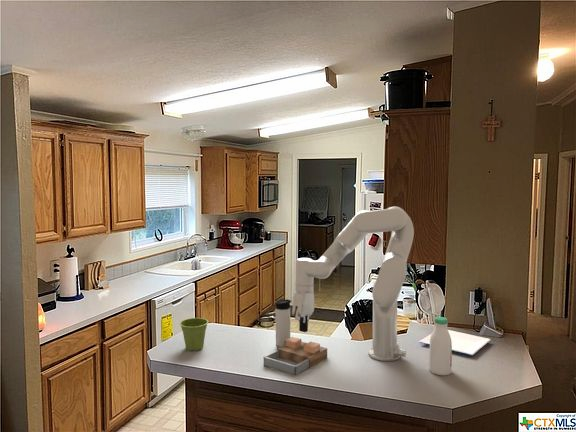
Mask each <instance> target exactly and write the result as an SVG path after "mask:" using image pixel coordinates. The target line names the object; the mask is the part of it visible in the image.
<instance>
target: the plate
mask: <svg viewBox="0 0 576 432" xmlns="http://www.w3.org/2000/svg"><path fill="white" fill-rule="evenodd" d="M448 332H449V334H450V337H451V341H452V352H456V353H461V354H465V355H468V356H474V355H475V354H476V353H477V352H478V351H480V349H481V348H483V347H484V346H486V345H487V344H488V343H490V341H491V338H487V337H484V336H483V337H482V336H478V335H473V334H469V333H464V332H460V331H454V330H452V329H451V330H450V329H448ZM431 334H432V333H430V334H429V335H428V336H426V337H424V338H423V339H421V340H419V341H418V342H420V344H424V345H429V346H430V337H431Z"/></svg>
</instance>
